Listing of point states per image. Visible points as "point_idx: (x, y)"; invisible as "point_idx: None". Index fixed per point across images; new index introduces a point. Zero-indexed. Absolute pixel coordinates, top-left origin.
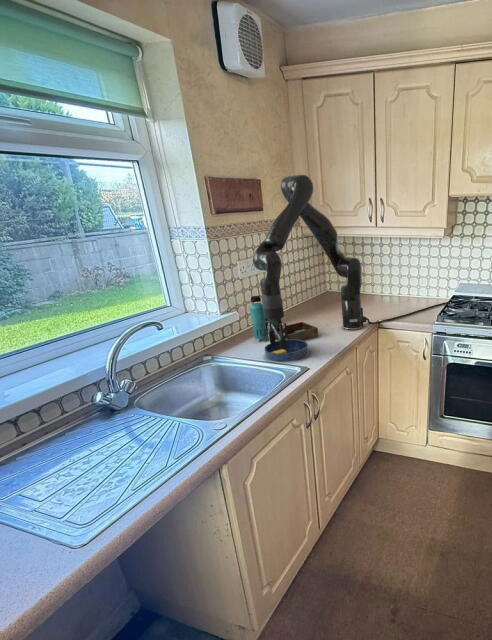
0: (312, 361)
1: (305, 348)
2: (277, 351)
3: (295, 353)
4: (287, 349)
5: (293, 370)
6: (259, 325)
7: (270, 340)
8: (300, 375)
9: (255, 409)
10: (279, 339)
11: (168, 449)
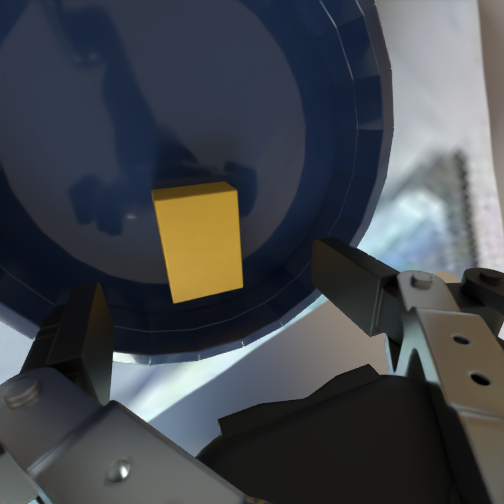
0: (413, 70)
1: (381, 33)
2: (196, 261)
3: (380, 174)
4: (50, 101)
5: (414, 232)
6: None
7: (111, 355)
8: (469, 226)
9: None
10: (386, 337)
11: None
